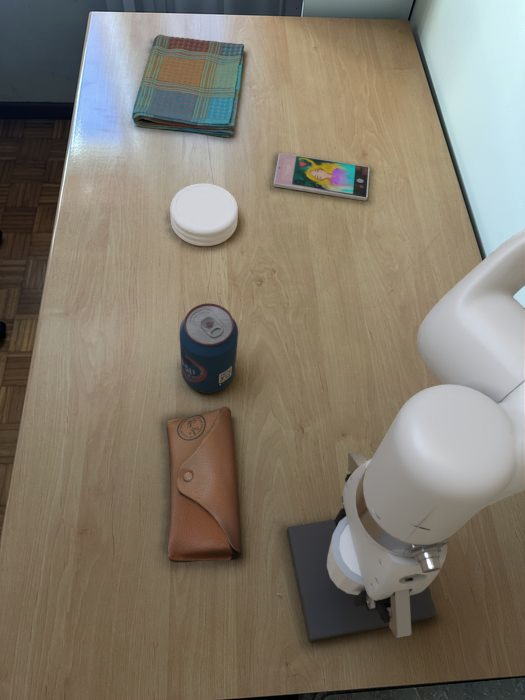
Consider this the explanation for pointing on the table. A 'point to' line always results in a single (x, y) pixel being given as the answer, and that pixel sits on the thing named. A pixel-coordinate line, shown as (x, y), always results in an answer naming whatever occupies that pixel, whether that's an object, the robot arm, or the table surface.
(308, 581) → the scale
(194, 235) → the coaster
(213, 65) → the dish towel
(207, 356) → the soda can
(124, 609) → the table surface
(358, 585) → the white cylinder
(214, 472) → the sunglasses case
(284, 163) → the smartphone
